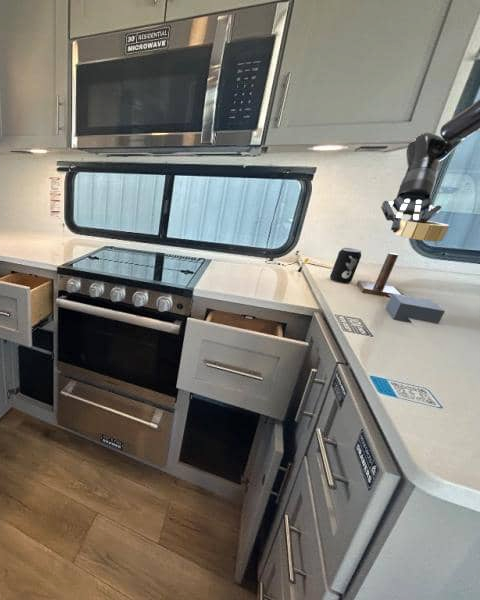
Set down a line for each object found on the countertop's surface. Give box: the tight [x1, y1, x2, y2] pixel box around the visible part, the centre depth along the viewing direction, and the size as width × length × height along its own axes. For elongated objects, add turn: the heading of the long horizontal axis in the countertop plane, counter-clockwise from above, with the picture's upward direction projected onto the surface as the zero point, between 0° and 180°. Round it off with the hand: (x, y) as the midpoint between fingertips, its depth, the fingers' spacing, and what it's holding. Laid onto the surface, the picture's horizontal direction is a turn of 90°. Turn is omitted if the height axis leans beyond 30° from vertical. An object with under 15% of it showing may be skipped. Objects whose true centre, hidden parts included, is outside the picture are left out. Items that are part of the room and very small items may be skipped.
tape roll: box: [394, 218, 450, 242], centre depth 96 cm, size 10×10×4 cm
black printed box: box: [329, 247, 362, 284], centre depth 121 cm, size 7×7×12 cm
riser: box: [385, 293, 446, 325], centre depth 93 cm, size 9×9×5 cm
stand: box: [356, 252, 402, 298], centre depth 111 cm, size 10×10×14 cm
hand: (401, 231), depth 98 cm, fingers closed on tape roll, 2 cm apart
